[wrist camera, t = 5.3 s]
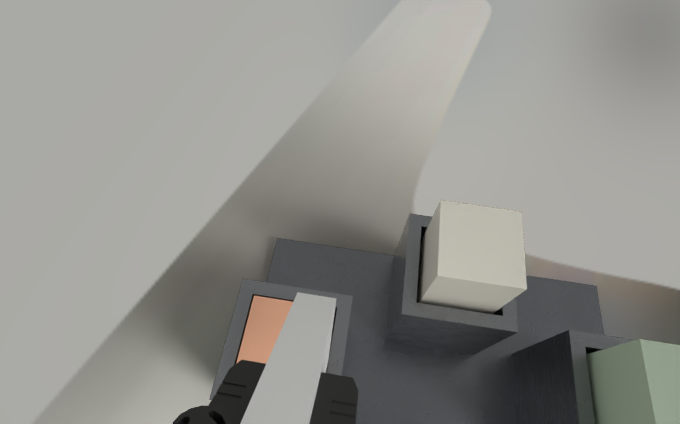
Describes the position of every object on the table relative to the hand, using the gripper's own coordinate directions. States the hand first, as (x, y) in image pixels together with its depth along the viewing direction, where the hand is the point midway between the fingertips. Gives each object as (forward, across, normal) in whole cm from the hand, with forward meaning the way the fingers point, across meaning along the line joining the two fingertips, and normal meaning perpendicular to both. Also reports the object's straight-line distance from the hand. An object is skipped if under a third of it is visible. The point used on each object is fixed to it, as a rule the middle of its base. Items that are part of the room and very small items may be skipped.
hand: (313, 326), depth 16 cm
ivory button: (+13, +7, -4) cm, 15 cm away
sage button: (+9, +17, -8) cm, 21 cm away
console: (+14, +7, -10) cm, 19 cm away
